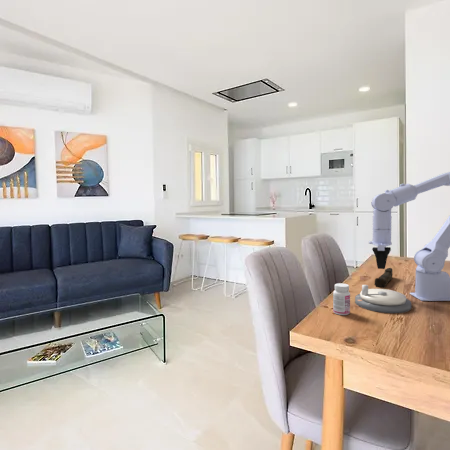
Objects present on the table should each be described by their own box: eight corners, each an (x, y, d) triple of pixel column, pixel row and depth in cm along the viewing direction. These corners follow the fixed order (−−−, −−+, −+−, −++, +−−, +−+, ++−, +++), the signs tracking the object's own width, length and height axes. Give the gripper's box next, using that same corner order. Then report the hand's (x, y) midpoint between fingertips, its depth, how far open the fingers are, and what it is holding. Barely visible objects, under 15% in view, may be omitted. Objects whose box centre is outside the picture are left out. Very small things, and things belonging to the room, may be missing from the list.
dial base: (396, 296, 110) (396, 291, 110) (422, 313, 94) (422, 307, 94) (348, 296, 111) (348, 292, 111) (366, 313, 95) (366, 308, 95)
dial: (392, 292, 109) (392, 279, 108) (414, 305, 96) (415, 290, 95) (353, 293, 109) (353, 280, 108) (371, 306, 96) (371, 291, 95)
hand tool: (385, 289, 119) (386, 276, 119) (374, 287, 122) (374, 275, 121) (398, 278, 134) (398, 267, 133) (387, 277, 136) (387, 266, 136)
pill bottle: (348, 316, 93) (348, 287, 92) (331, 313, 95) (331, 285, 94) (351, 311, 97) (351, 283, 96) (335, 308, 99) (335, 282, 98)
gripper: (370, 227, 118) (369, 263, 119) (367, 231, 105) (367, 271, 106) (391, 227, 115) (391, 264, 116) (392, 231, 102) (391, 273, 103)
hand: (381, 268), depth 111 cm, fingers closed
